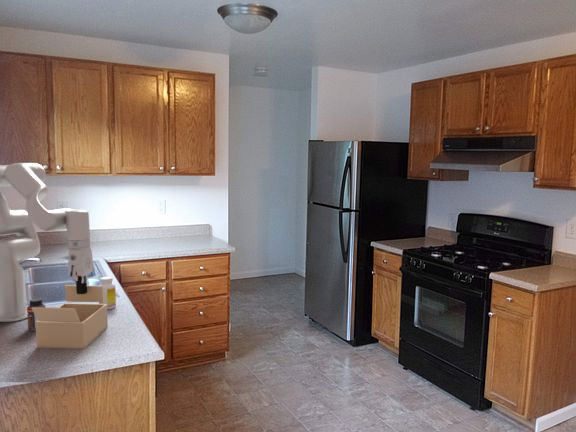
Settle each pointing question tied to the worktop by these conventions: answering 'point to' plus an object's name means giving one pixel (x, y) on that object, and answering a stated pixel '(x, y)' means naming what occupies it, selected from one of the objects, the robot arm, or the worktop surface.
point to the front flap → (56, 314)
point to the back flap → (91, 296)
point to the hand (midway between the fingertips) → (82, 293)
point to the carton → (73, 328)
